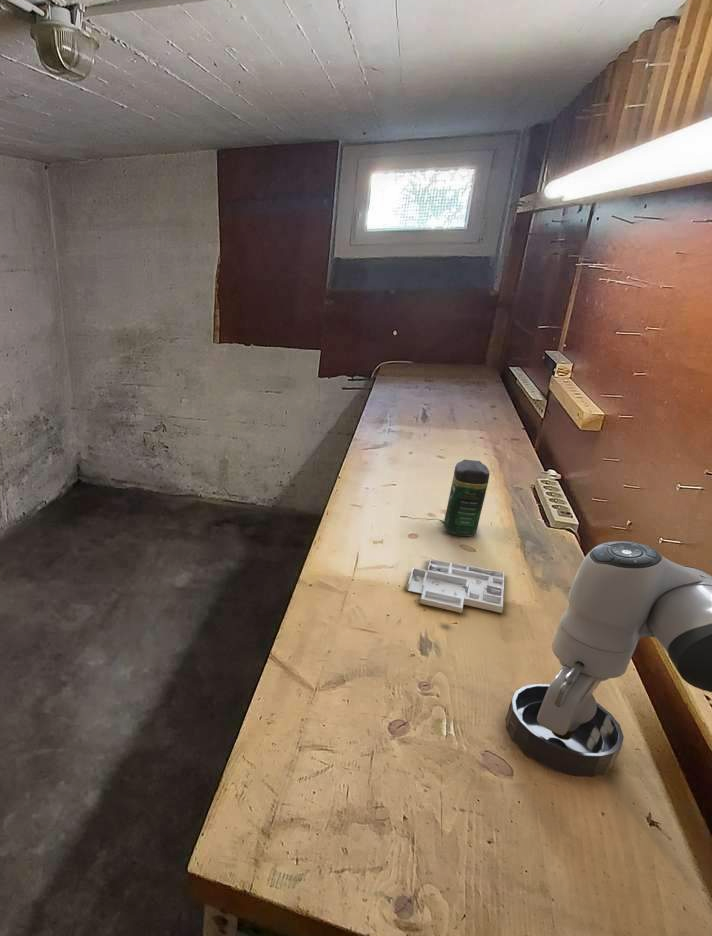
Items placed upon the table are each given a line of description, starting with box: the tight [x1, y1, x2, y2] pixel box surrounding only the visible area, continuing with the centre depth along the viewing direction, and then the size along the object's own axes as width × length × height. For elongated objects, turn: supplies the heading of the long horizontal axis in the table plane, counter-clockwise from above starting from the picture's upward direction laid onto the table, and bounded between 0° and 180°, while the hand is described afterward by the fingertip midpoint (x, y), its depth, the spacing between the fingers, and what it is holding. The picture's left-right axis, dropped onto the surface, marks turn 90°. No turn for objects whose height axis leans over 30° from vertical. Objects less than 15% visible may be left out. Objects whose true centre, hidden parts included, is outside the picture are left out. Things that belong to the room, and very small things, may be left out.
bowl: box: [504, 683, 625, 778], centre depth 86 cm, size 14×14×5 cm
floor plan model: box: [406, 558, 505, 614], centre depth 122 cm, size 19×25×2 cm
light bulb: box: [552, 694, 597, 740], centre depth 85 cm, size 6×6×10 cm
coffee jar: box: [443, 459, 491, 537], centre depth 145 cm, size 10×8×19 cm
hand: (564, 719), depth 86 cm, fingers closed on light bulb, 5 cm apart
